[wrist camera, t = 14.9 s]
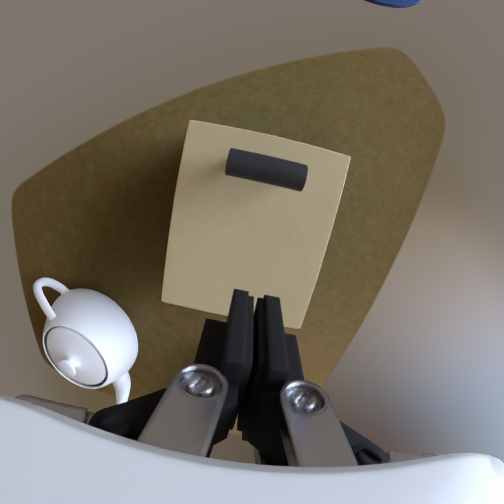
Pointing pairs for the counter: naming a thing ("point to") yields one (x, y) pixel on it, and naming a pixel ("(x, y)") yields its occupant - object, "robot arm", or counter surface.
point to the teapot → (88, 338)
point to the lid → (250, 219)
